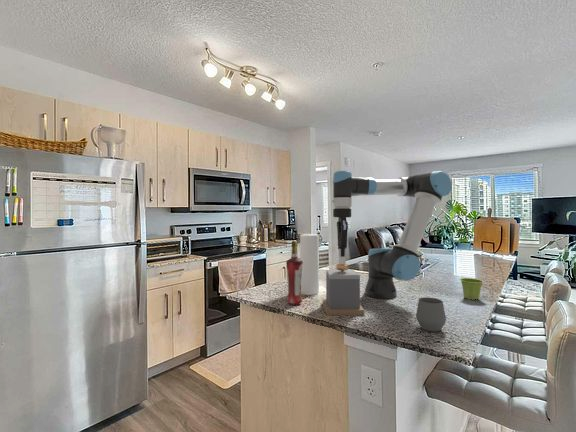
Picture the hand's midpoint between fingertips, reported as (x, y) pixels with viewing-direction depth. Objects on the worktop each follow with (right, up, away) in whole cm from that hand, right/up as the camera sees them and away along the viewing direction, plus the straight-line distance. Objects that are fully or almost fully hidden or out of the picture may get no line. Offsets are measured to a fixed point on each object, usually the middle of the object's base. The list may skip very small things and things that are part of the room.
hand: (342, 263), depth 128 cm
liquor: (-20, -19, +8) cm, 29 cm away
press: (0, -19, 0) cm, 19 cm away
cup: (+27, -19, -22) cm, 40 cm away
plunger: (0, -16, 0) cm, 16 cm away
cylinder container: (-12, -19, +27) cm, 35 cm away
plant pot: (+64, -19, +16) cm, 69 cm away
